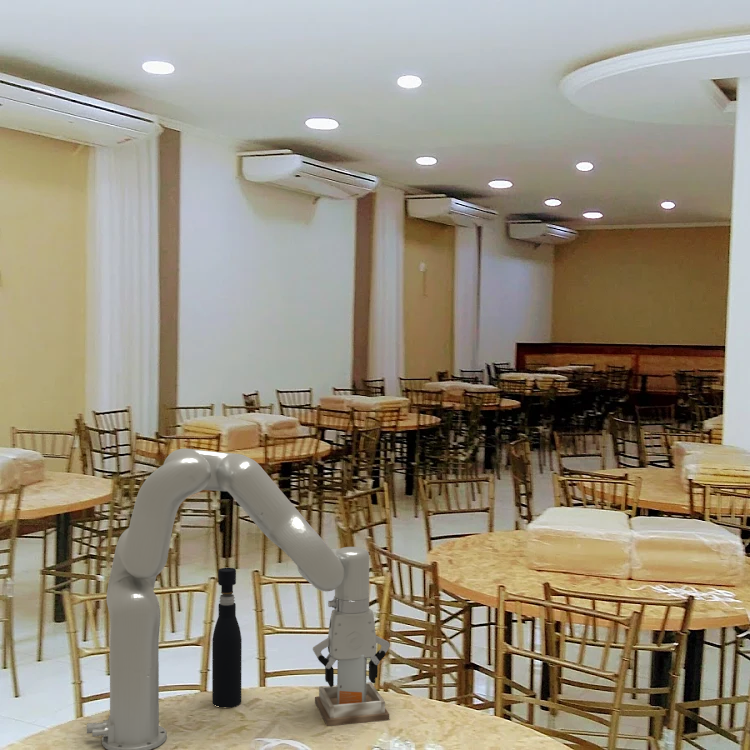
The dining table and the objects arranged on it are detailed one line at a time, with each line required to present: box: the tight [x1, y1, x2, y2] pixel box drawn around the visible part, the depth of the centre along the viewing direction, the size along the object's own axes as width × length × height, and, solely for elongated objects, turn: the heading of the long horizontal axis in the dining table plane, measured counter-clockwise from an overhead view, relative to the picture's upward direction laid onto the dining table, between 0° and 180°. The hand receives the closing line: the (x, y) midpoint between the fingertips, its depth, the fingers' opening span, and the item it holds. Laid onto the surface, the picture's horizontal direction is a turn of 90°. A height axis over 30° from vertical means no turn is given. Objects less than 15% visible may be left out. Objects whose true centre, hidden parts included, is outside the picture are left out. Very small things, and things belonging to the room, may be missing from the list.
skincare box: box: [336, 655, 368, 705], centre depth 204 cm, size 6×4×12 cm
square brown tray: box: [314, 681, 390, 727], centre depth 204 cm, size 14×14×4 cm
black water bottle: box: [211, 567, 243, 708], centre depth 208 cm, size 6×6×30 cm
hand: (351, 682), depth 204 cm, fingers open, 9 cm apart
